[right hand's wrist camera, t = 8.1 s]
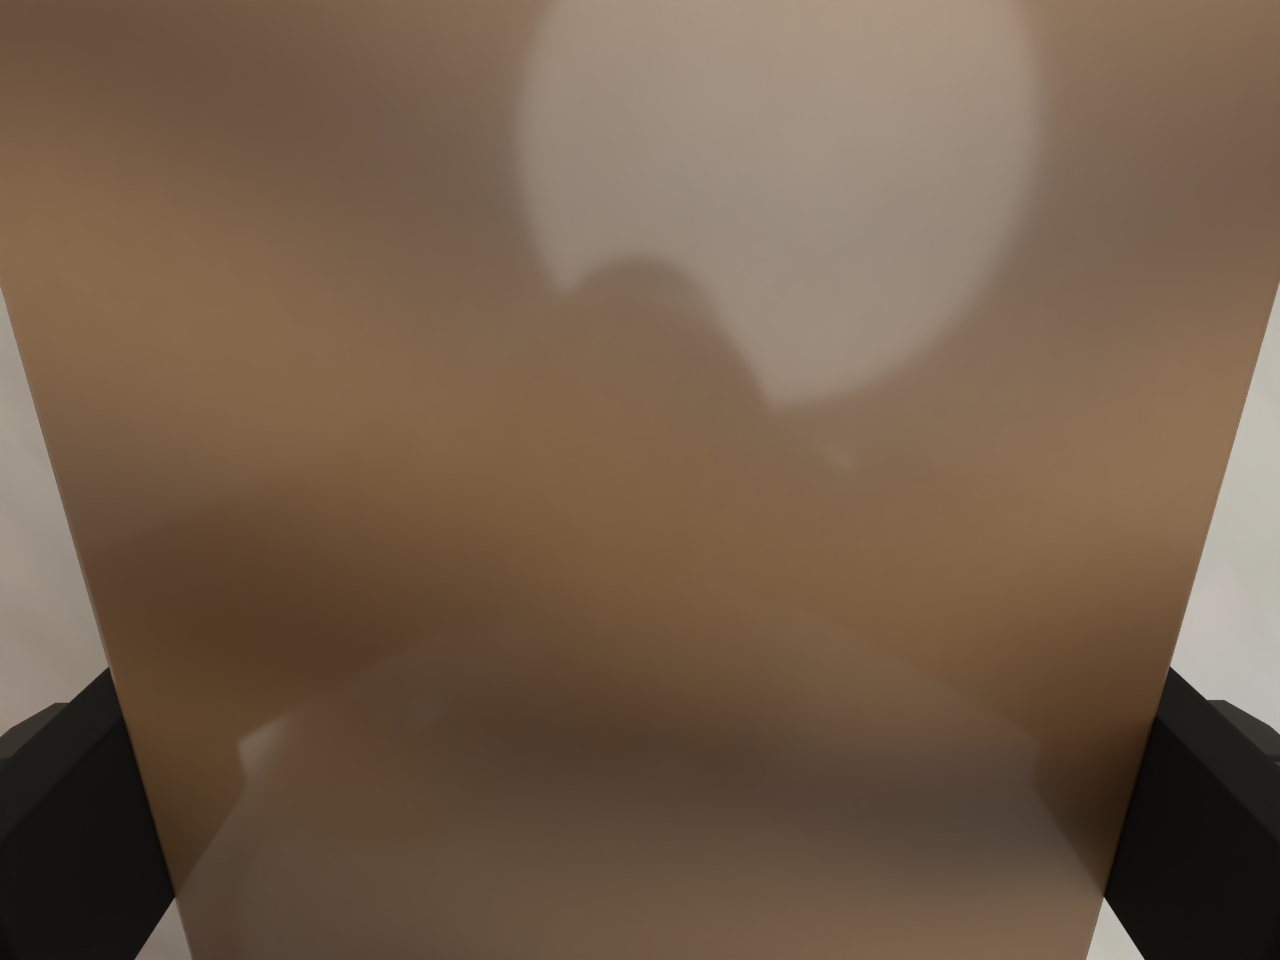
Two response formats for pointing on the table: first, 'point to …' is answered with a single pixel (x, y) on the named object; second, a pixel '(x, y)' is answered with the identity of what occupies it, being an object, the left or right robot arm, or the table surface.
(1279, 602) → the table surface
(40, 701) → the table surface
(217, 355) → the cabinet
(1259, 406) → the table surface
